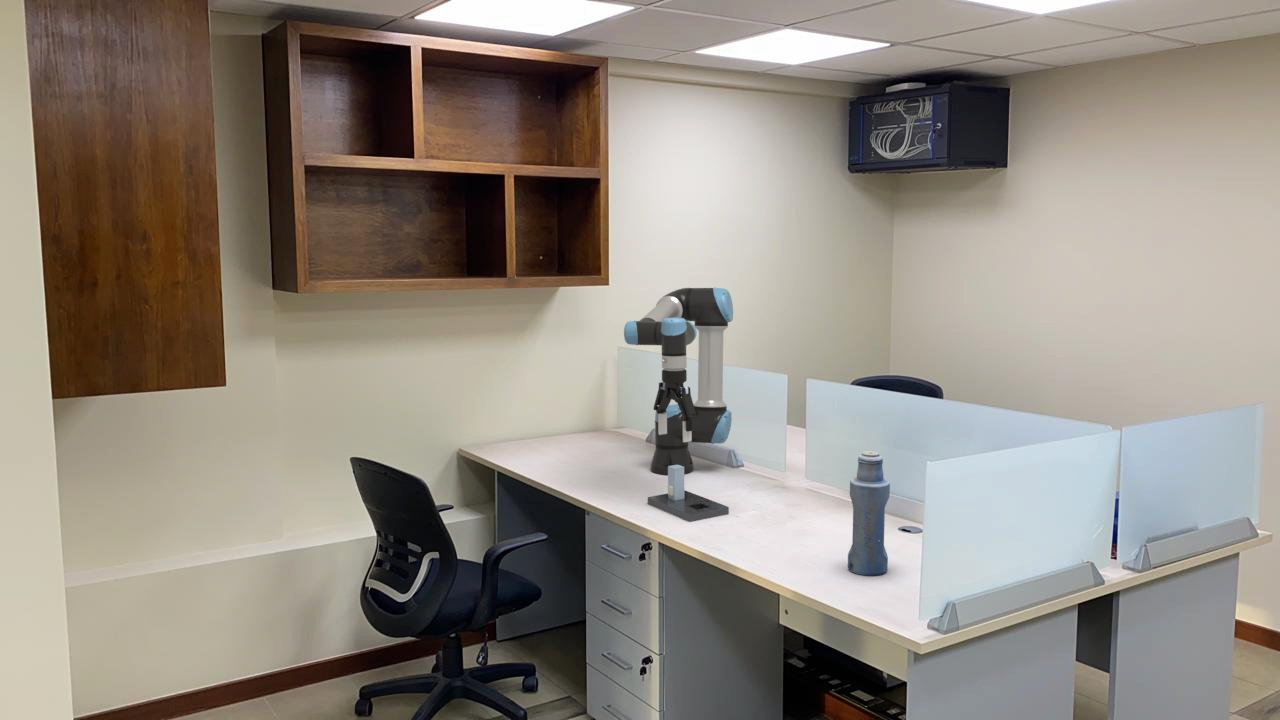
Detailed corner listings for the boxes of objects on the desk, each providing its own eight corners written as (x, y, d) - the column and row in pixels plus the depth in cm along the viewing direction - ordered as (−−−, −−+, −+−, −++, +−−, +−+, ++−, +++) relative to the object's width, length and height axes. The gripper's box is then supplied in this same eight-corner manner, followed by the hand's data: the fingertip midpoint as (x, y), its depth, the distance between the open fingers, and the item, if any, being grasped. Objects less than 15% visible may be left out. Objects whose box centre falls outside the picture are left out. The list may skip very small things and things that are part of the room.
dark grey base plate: (685, 499, 316) (685, 490, 315) (728, 516, 296) (728, 506, 296) (647, 506, 308) (647, 497, 308) (690, 524, 289) (689, 514, 289)
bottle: (849, 561, 255) (851, 447, 251) (889, 565, 252) (891, 449, 248) (846, 574, 246) (847, 455, 242) (887, 577, 243) (889, 457, 239)
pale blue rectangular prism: (677, 502, 310) (677, 464, 308) (684, 504, 307) (684, 466, 305) (666, 504, 308) (666, 466, 306) (672, 507, 305) (672, 468, 303)
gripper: (642, 365, 310) (642, 432, 313) (686, 374, 289) (687, 446, 292) (662, 363, 314) (663, 429, 317) (708, 372, 293) (708, 443, 296)
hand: (674, 437), depth 305 cm, fingers open, 13 cm apart
